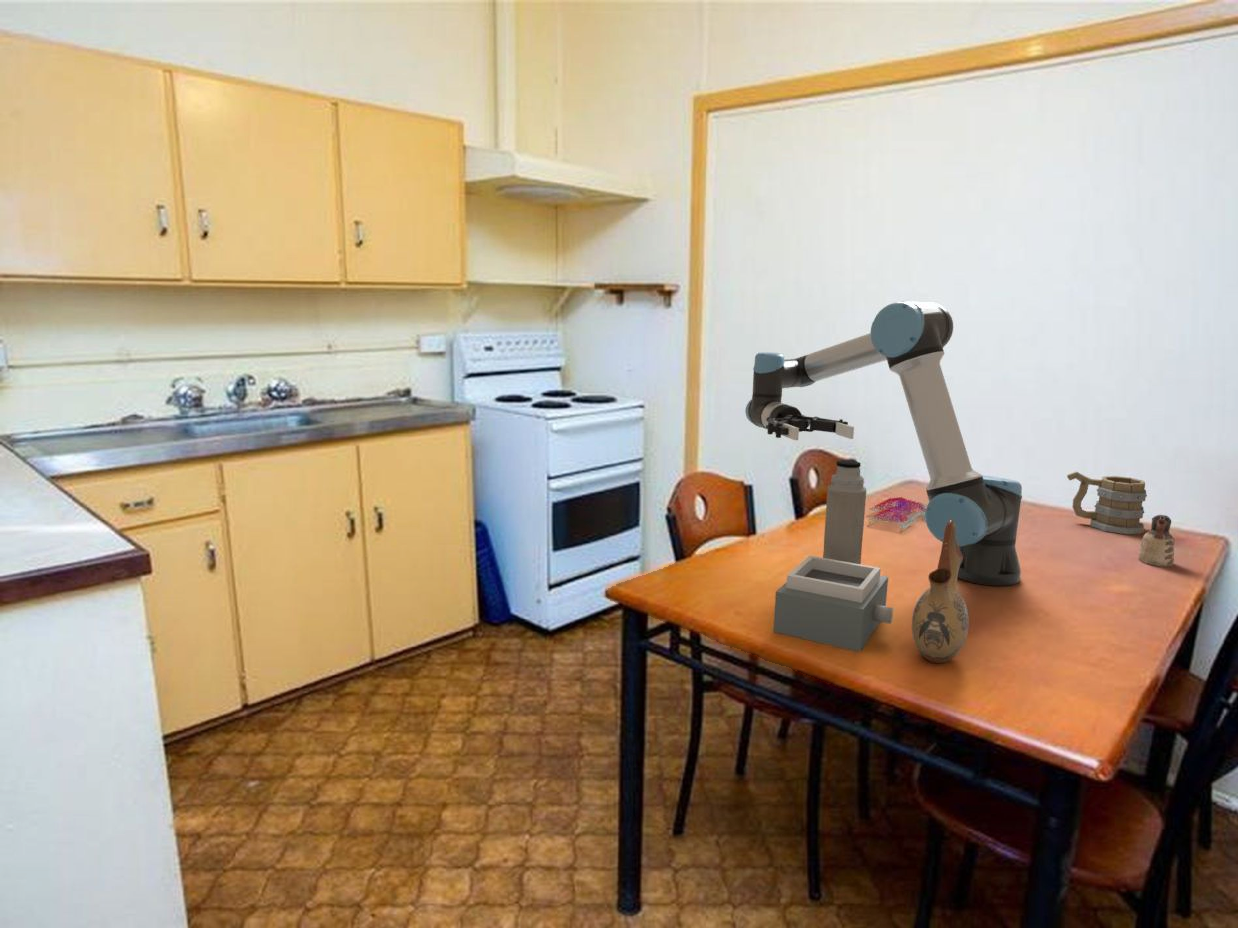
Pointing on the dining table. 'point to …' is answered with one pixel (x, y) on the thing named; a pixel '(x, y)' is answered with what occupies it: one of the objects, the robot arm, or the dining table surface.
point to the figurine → (1158, 543)
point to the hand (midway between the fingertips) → (824, 433)
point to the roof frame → (901, 507)
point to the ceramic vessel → (942, 606)
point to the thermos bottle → (845, 514)
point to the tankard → (1113, 503)
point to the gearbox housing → (832, 603)
